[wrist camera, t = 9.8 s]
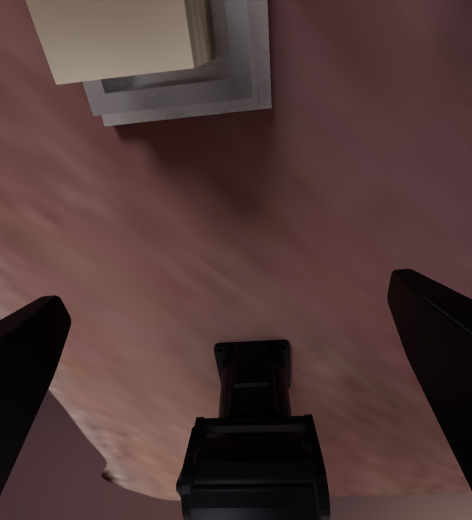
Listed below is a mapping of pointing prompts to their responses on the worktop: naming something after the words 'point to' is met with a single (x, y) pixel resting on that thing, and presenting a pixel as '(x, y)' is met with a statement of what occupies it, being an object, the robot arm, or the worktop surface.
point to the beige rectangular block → (122, 36)
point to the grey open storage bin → (198, 75)
